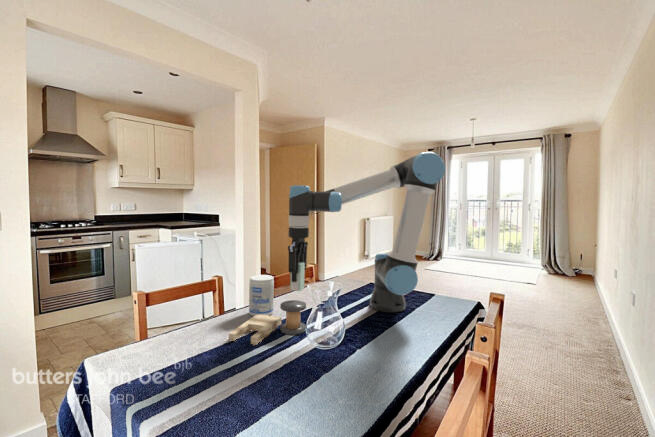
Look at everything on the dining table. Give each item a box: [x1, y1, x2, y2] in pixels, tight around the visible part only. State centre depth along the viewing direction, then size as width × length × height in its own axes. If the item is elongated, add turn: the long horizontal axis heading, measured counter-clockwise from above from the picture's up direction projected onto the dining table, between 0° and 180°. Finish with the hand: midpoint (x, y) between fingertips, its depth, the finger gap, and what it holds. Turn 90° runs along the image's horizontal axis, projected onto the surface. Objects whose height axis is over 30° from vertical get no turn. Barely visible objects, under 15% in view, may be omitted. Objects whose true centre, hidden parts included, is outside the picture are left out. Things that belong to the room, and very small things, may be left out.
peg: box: [289, 262, 306, 292], centre depth 119 cm, size 4×4×10 cm
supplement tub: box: [248, 274, 275, 317], centre depth 126 cm, size 10×10×15 cm
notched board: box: [228, 314, 282, 346], centre depth 109 cm, size 18×10×2 cm, turn 163°
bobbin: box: [279, 299, 307, 336], centre depth 111 cm, size 9×9×9 cm
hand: (297, 288), depth 119 cm, fingers closed on peg, 4 cm apart
